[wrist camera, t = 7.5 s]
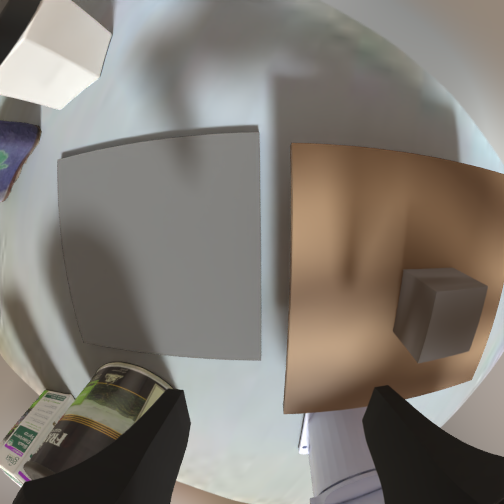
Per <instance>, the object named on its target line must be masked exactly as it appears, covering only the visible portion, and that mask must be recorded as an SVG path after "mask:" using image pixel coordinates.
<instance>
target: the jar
mask: <svg viewBox="0 0 504 504" xmlns="http://www.w3.org/2000/svg"><path fill="white" fill-rule="evenodd" d="M111 36H112V34H111V33H110V32H109V31H108V30H107V29H106V28H104V27H103V26H102V25H101V24H100V23H99V22H97V21H96V20H95V19H94V18H93V17H91V16H90V15H89V14H88V13H87V12H85V11H84V10H83V9H82V8H80V7H79V6H78V5H77V4H75V3H74V2H73V1H72V0H0V95H2V96H7V97H11V98H16V99H20V100H24V101H28V102H32V103H36V104H39V105H43V106H47V107H50V108H54V109H57V110H61V109H63V108H64V107H65V106H66V105H67V104H68V103H69V102H70V101H72V100H73V99H74V98H75V97H76V96H77V95H79V94H80V93H81V92H82V91H84V90H85V89H86V88H87V87H89V86H90V85H91V84H92V83H94V82H95V81H96V80H98V79H99V77H100V74H101V70H102V66H103V62H104V59H105V55H106V52H107V49H108V45H109V42H110V39H111Z"/></svg>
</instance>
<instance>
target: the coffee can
mask: <svg viewBox="0 0 504 504" xmlns="http://www.w3.org/2000/svg"><path fill="white" fill-rule="evenodd" d="M168 388H170V389H173V388H172V387H171V386H170V385H169V384H167V383H166V382H165V381H163V380H162V379H161V378H160V377H158V376H156V375H154V374H153V373H151V372H149V371H147V370H145V369H143V368H141V367H138V366H135V365H132V364H128V363H122V362H114V363H108V364H105V365H103V366H102V367H101V368H99V369H98V371H97V372H96V374H95V376H94V377H93V378H92V379H91V381H90V382H89V383H88V384H87V386H86V387H85V388H84V389H83V391H82V392H81V393H80V394H79V396H78V397H77V398H76V399H75V401H74V402H73V403H72V405H71V406H70V407H69V408H68V410H67V411H66V412H65V414H64V415H63V416H62V417H61V418H60V420H59V421H58V423H57V424H56V425H55V426H54V428H53V429H52V431H51V432H50V433H49V435H48V436H47V437H46V439H45V440H44V441H43V443H42V444H41V445H40V446H39V448H38V449H37V451H36V452H35V454H33V456H32V457H31V459H30V460H29V461H27V462H26V463H25V464H24V466H23V469H24V471H25V472H26V474H27V475H28V476H29V478H30V479H31V480H35V479H39V478H43V477H46V476H50V475H53V474H56V473H58V472H61V471H63V470H66V469H68V468H70V467H73V466H75V465H77V464H79V463H81V462H83V461H84V460H86V459H88V458H90V457H91V456H93V455H95V454H96V453H98V452H99V451H101V450H102V449H104V448H105V447H107V446H108V445H109V444H111V443H112V442H113V441H115V440H116V439H117V438H118V437H119V436H121V435H122V434H123V433H124V432H125V431H126V430H128V429H129V428H130V427H131V426H132V425H133V424H134V423H135V422H136V421H137V420H138V419H139V418H140V417H141V416H142V415H143V414H144V413H145V412H146V411H147V410H148V409H149V408H150V407H151V406H152V405H153V404H154V403H155V402H156V400H157V399H158V398H159V397H160V396H161V395H162V394H163V393H164V391H165V390H166V389H168Z"/></svg>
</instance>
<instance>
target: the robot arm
mask: <svg viewBox="0 0 504 504" xmlns="http://www.w3.org/2000/svg"><path fill="white" fill-rule="evenodd" d="M190 425H191V422H190V418H189V413H188V409H187V404H186V400H185V395H184V390H178V389H170V388H168V389H166V390H165V391H164V393H163V394H162V395H161V396H160V397H159V398H158V399H157V400H156V402H155V403H154V404H153V405H152V406H151V407H150V408H149V409H148V410H147V411H146V412H145V413H144V414H143V415H142V416H141V417H140V418H139V419H138V420H137V421H136V422H135V423H134V424H133V425H132V426H131V427H130V428H129V429H128V430H126V431H125V432H124V433H123V434H122V435H121V436H119V437H118V438H117V439H116V440H115V441H113V442H112V443H111V444H109V445H108V446H107V447H105V448H104V449H102V450H101V451H99V452H98V453H96V454H95V455H93V456H91V457H90V458H88V459H86V460H84V461H83V462H81V463H79V464H77V465H75V466H73V467H70V468H68V469H66V470H63V471H61V472H58V473H56V474H53V475H50V476H46V477H43V478H39V479H35V480H31V481H26V482H24V484H23V486H22V487H21V489H20V491H19V492H18V494H17V496H16V498H15V499H14V501H13V504H170V502H171V496H172V492H173V488H174V485H175V482H176V479H177V476H178V472H179V469H180V466H181V463H182V460H183V457H184V453H185V450H186V447H187V443H188V437H189V431H190ZM299 453H300V454H308V455H309V463H310V471H311V480H312V488H313V494H314V497H313V498H310V504H504V457H502V456H498V455H494V454H491V453H488V452H485V451H482V450H480V449H477V448H475V447H473V446H470V445H468V444H466V443H464V442H462V441H460V440H459V439H457V438H455V437H453V436H452V435H450V434H448V433H447V432H445V431H444V430H442V429H441V428H439V427H438V426H437V425H435V424H434V423H433V422H431V421H430V420H429V419H427V418H426V417H425V416H424V415H422V414H421V413H420V412H419V411H418V410H416V409H415V408H414V407H413V406H412V405H411V404H409V403H408V402H407V401H406V400H405V399H404V398H403V397H401V396H400V395H399V394H398V393H397V392H396V391H395V390H393V389H392V388H391V387H390V386H389V385H385V386H379V387H374V390H373V393H372V395H371V398H370V401H369V404H368V406H367V407H360V408H353V409H346V410H337V411H327V412H315V413H305V417H304V423H303V429H302V434H301V440H300V445H299Z"/></svg>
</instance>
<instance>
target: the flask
mask: <svg viewBox="0 0 504 504" xmlns="http://www.w3.org/2000/svg"><path fill="white" fill-rule="evenodd" d="M41 132H42V131H41V130H40V128H39V126H37V125H33V124H28V123H22V122H9V121H0V202H3V201H5V199H6V198H8V196H9V194H10V193H11V191H10V189H11V188H12V186H13V184H14V183H15V181H16V180H17V178H19V175H20V173H21V169H22V166H23V164H24V163H26V161H27V158H28V156H29V155H30V154H32V151H33V150H34V149H35V147H36V146H37V145H38V144H39V140H40V136H41Z"/></svg>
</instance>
